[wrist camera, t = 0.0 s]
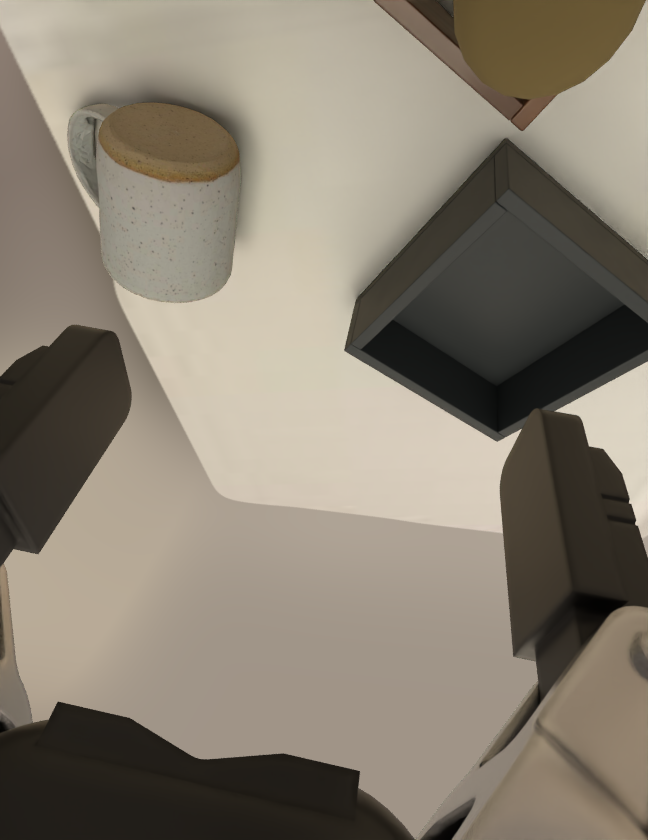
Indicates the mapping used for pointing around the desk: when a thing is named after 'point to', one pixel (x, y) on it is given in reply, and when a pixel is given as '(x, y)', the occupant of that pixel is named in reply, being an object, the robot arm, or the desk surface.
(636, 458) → the desk surface
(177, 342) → the desk surface
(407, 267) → the open box
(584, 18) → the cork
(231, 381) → the desk surface
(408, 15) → the divided wooden tray
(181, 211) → the ceramic mug
